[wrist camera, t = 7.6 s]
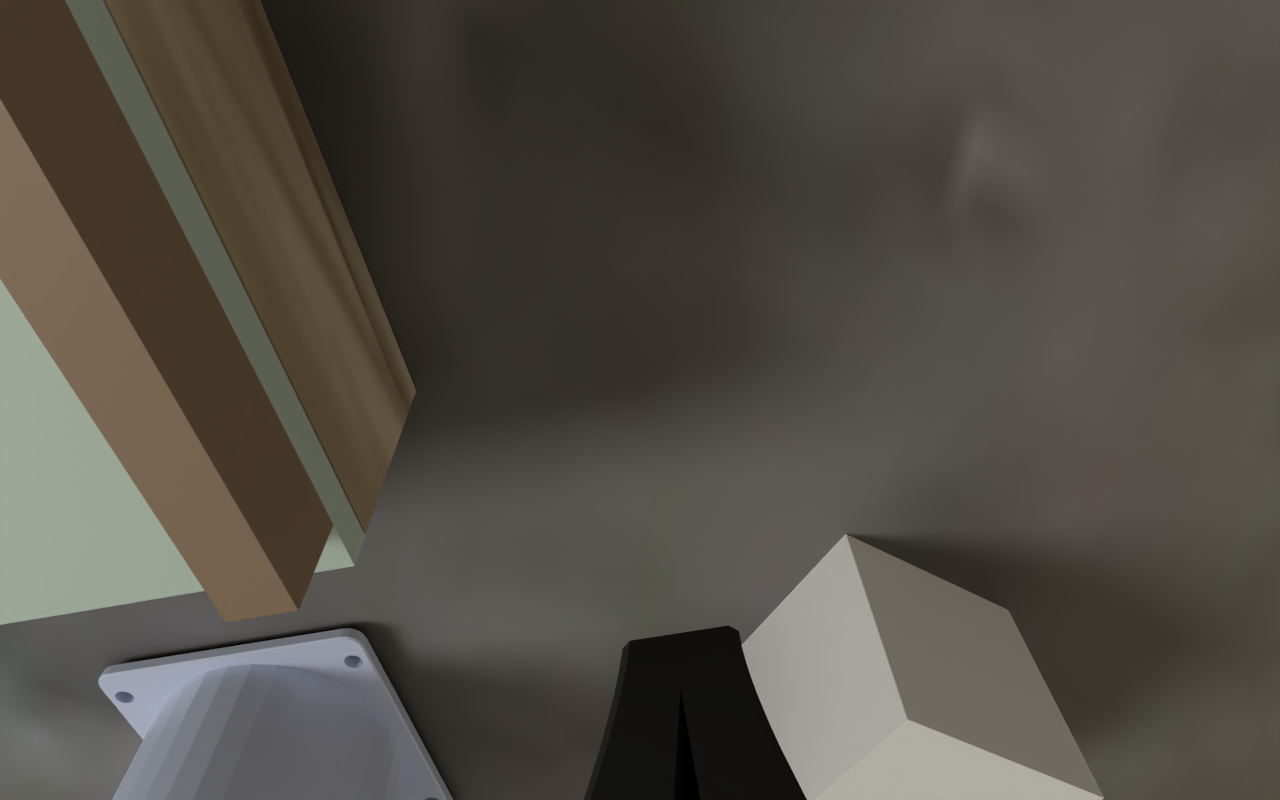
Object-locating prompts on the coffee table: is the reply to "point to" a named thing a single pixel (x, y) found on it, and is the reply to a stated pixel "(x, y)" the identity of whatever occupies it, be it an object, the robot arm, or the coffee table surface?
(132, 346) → the lid
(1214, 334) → the coffee table surface
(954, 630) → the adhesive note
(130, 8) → the storage box
